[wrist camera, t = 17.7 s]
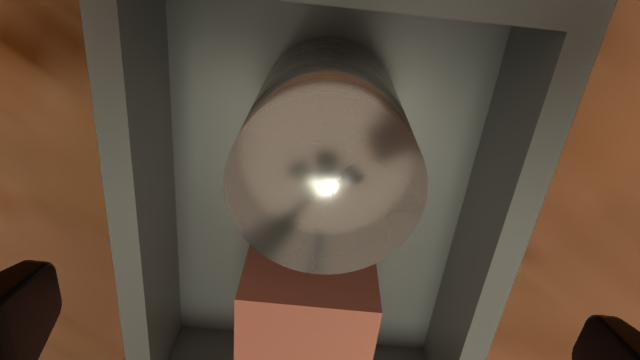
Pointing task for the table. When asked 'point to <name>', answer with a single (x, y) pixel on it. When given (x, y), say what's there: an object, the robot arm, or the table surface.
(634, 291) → the table surface
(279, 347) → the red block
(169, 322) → the tote
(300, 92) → the steel canister
